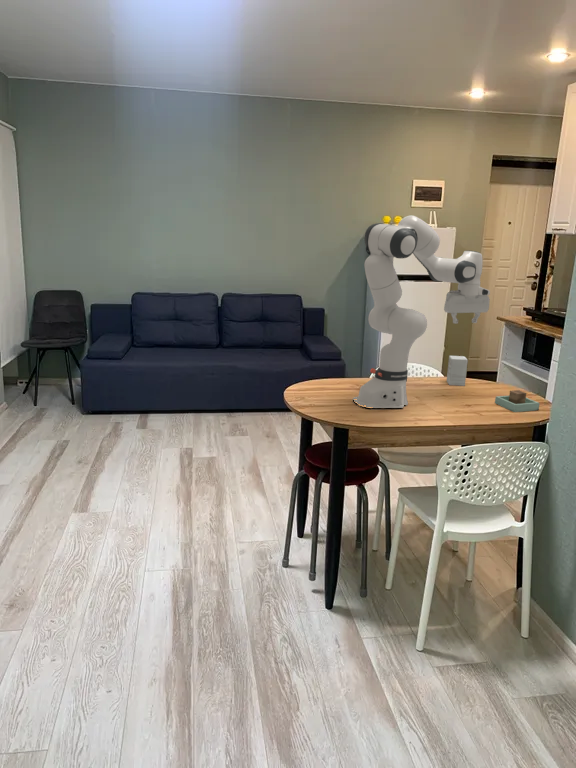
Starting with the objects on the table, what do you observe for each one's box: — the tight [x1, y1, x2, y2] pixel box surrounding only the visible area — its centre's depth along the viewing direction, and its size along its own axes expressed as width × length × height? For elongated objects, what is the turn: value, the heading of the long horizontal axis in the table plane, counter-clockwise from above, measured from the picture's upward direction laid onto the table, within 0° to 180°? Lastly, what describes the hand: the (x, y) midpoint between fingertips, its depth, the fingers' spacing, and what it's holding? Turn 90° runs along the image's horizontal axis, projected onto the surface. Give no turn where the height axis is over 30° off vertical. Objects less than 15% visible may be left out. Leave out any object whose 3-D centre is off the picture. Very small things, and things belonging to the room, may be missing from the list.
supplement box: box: [446, 355, 469, 387], centre depth 268 cm, size 7×7×13 cm
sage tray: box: [494, 395, 541, 413], centre depth 237 cm, size 12×12×3 cm
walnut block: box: [508, 389, 527, 404], centre depth 237 cm, size 4×4×6 cm
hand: (464, 323), depth 246 cm, fingers open, 8 cm apart
